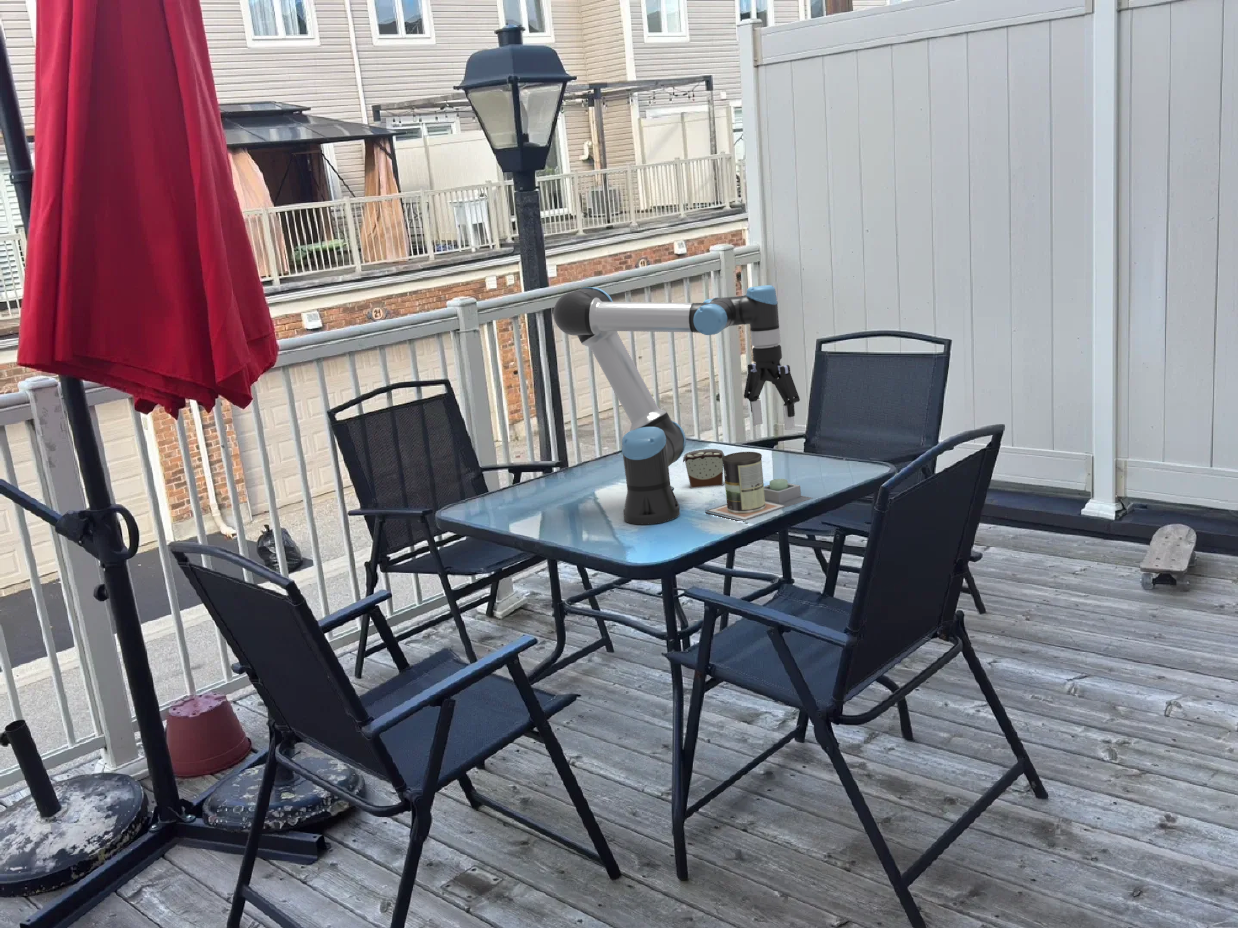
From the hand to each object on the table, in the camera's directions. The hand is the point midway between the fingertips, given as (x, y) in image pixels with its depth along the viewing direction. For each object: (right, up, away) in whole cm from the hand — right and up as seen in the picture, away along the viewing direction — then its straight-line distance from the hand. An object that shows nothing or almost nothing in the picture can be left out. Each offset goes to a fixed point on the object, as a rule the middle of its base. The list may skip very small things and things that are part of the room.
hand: (773, 426), depth 288 cm
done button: (+2, -18, +4) cm, 18 cm away
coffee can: (-7, -22, -2) cm, 23 cm away
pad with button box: (-4, -21, +1) cm, 22 cm away
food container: (-15, -16, +31) cm, 38 cm away
